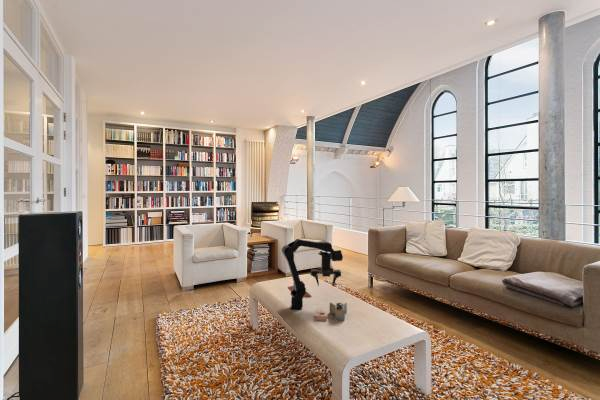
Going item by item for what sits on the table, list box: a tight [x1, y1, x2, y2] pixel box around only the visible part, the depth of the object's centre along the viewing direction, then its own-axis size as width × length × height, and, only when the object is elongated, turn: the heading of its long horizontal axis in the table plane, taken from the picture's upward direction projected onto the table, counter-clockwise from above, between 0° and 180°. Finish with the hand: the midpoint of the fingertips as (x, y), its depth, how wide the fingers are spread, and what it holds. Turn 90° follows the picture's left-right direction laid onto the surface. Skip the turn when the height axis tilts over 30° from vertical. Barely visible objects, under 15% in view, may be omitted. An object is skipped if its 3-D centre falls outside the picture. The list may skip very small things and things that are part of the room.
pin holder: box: [315, 311, 328, 321], centre depth 173 cm, size 6×6×2 cm
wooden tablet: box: [287, 285, 313, 299], centre depth 218 cm, size 27×10×2 cm, turn 21°
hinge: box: [329, 302, 348, 322], centre depth 176 cm, size 10×11×6 cm
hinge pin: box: [335, 302, 344, 309], centre depth 173 cm, size 4×4×8 cm
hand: (325, 286), depth 193 cm, fingers open, 9 cm apart
